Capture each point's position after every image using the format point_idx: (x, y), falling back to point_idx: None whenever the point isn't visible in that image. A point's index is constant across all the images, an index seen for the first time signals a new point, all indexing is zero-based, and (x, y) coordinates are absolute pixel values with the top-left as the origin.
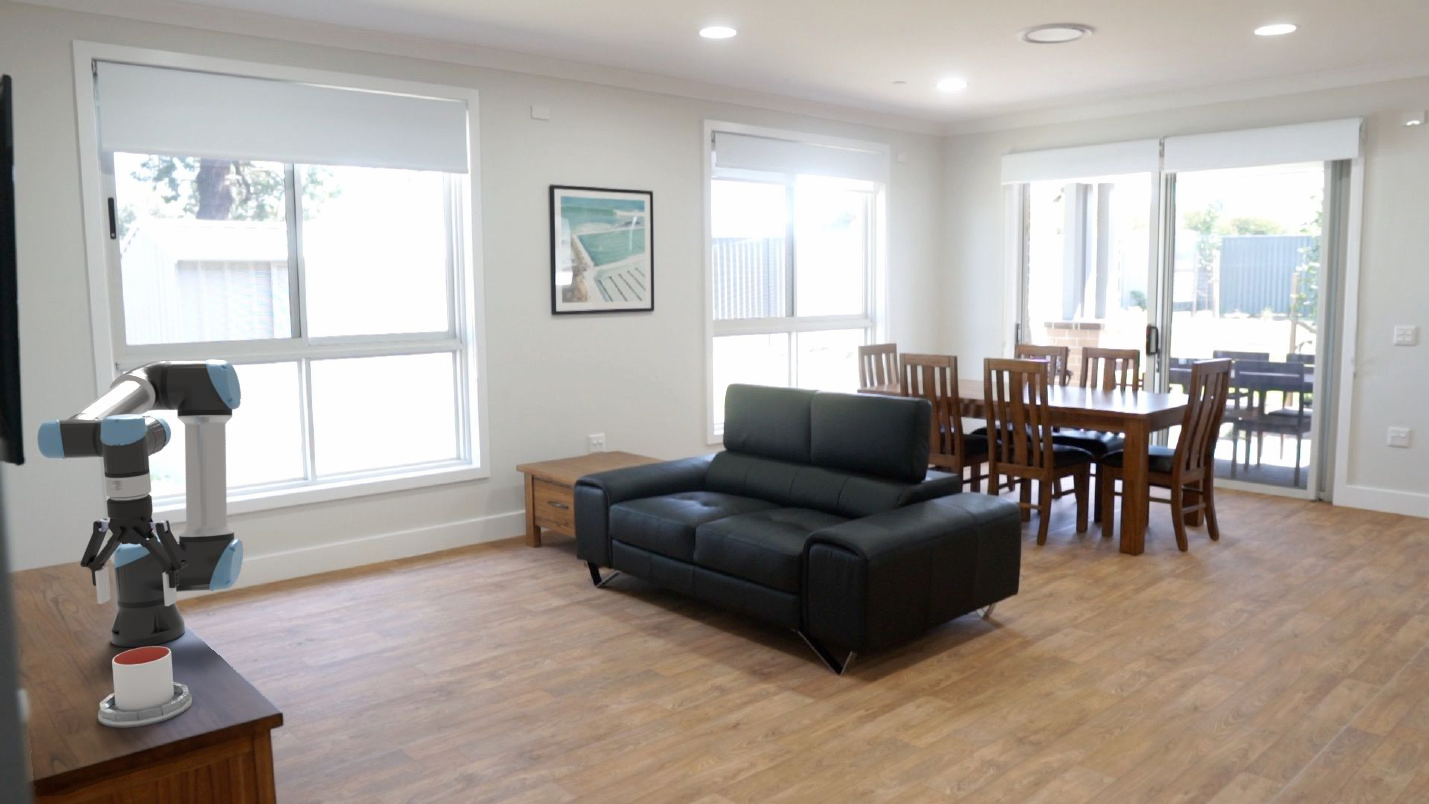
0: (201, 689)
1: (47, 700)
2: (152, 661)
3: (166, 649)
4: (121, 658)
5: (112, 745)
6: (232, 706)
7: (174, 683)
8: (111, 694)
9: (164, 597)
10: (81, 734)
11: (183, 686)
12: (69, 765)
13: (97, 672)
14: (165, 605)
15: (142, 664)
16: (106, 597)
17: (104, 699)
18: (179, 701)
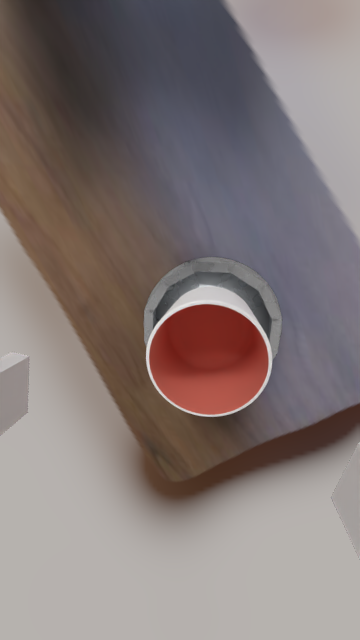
0: (279, 248)
1: (40, 264)
2: (246, 405)
3: (250, 320)
4: (154, 337)
5: (209, 433)
6: (354, 334)
7: (241, 273)
8: (147, 309)
9: (354, 547)
10: (153, 393)
11: (263, 291)
12: (180, 472)
13: (50, 134)
14: (334, 499)
15: (228, 414)
16: (14, 390)
17: (145, 329)
18: (275, 355)
